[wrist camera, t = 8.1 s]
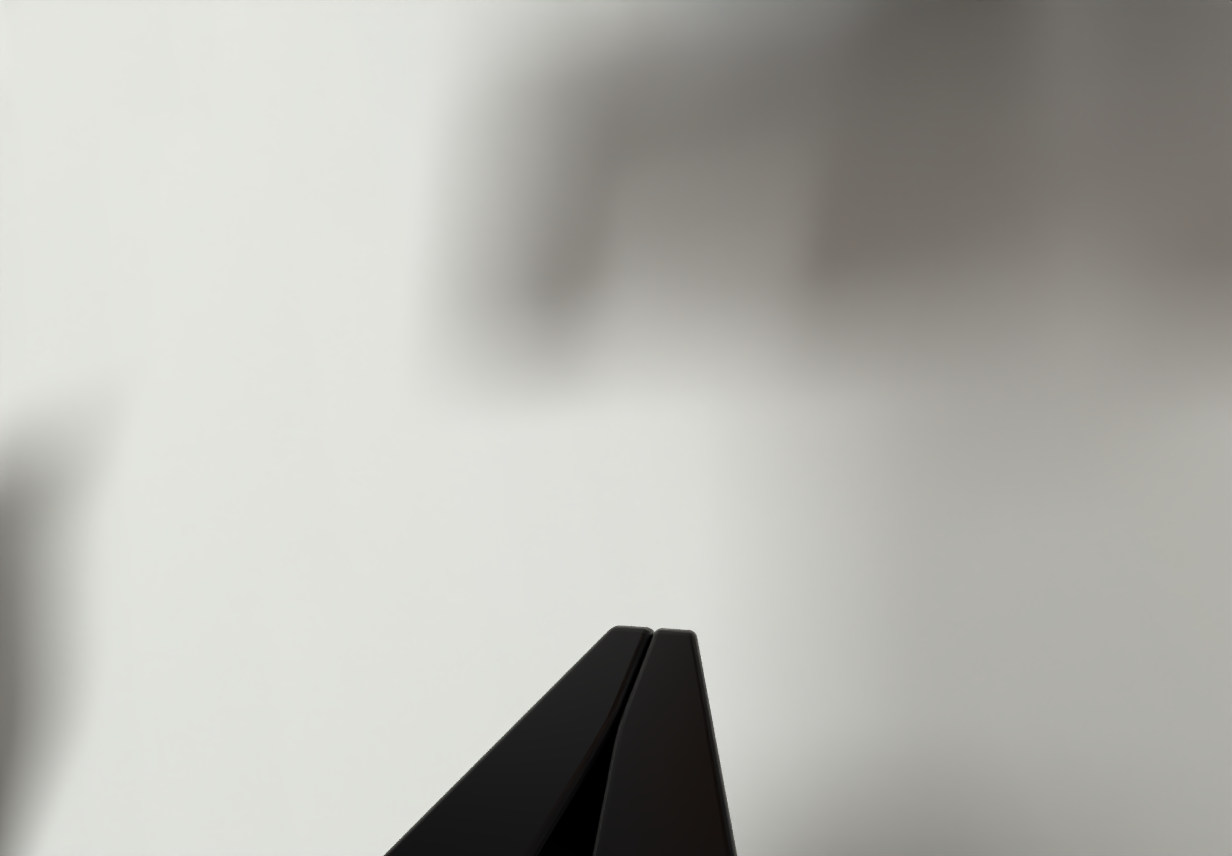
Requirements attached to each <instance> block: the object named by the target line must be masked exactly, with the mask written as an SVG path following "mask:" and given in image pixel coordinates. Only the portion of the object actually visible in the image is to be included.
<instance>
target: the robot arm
mask: <svg viewBox="0 0 1232 856" xmlns="http://www.w3.org/2000/svg"><path fill="white" fill-rule="evenodd" d="M384 856H737V852H736V847H735V841H734V836H733V830H732V825H731V819H730V814H729V809H728V803H727V798H726V792H725V787H724V781H723V776H722V770H721V765H720V759H719V754H718V748H717V743H716V738H715V732H714V727H713V721H712V716H711V710H710V705H709V699H708V694H707V688H706V683H705V678H704V672H703V667H702V661H701V656H700V650H699V645H698V640H697V636H696V634H695V632H693V631H691V630H680V629H665V628H660V629H658V630H656V631H655V632H654V631H653V630H652V629H650V628H648V627H635V626H615V627H613V628H611V629H610V630H609V631H608V632H607V633H606V634H605V635H604V636H603V637H602V638H601V639H600V640H599V641H598V642H597V643H596V644H595V645H594V646H593V647H592V648H591V649H590V650H589V651H588V652H587V653H586V654H585V655H584V656H583V657H582V658H581V659H580V660H579V661H578V662H577V663H576V664H575V665H574V666H573V667H572V668H571V669H570V670H569V671H568V672H567V673H566V674H565V675H564V676H563V677H562V678H561V679H560V680H559V681H558V682H557V683H556V684H555V685H554V686H553V687H552V688H551V689H550V690H549V691H548V692H547V693H546V694H545V695H544V696H543V697H542V698H541V699H540V700H539V701H538V702H537V703H536V704H535V705H534V706H533V707H532V708H531V709H530V710H529V711H528V712H527V713H526V714H525V715H524V716H523V717H522V718H521V719H520V720H519V721H518V722H517V723H516V724H515V725H514V726H513V727H512V728H511V729H510V730H509V731H508V732H507V733H506V734H505V735H504V736H503V737H502V738H501V739H500V740H499V741H498V742H497V743H496V744H495V745H494V746H493V747H492V748H491V749H490V750H489V751H488V752H487V753H486V754H485V755H484V756H483V757H482V758H481V759H480V760H479V761H478V762H477V763H476V764H475V765H474V766H473V767H472V768H471V769H470V770H469V771H468V772H467V773H466V774H465V775H464V776H463V777H462V778H461V779H460V780H459V781H458V782H457V783H456V784H455V785H454V786H453V787H452V788H451V789H450V790H449V791H448V792H447V793H446V794H445V795H444V796H443V797H442V798H441V799H440V800H439V801H438V802H437V803H436V804H435V805H434V806H433V807H432V808H431V809H430V810H429V811H428V812H427V813H426V814H425V815H424V816H423V817H422V818H421V819H420V820H419V821H418V822H417V823H416V824H415V825H414V826H413V827H412V828H411V829H410V830H409V831H408V832H407V833H406V834H405V835H404V836H403V837H402V838H401V839H400V840H399V841H398V842H397V843H396V844H395V845H394V846H393V847H392V848H391V849H390V850H389V851H388V852H387V853H386V854H385V855H384Z"/></svg>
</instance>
